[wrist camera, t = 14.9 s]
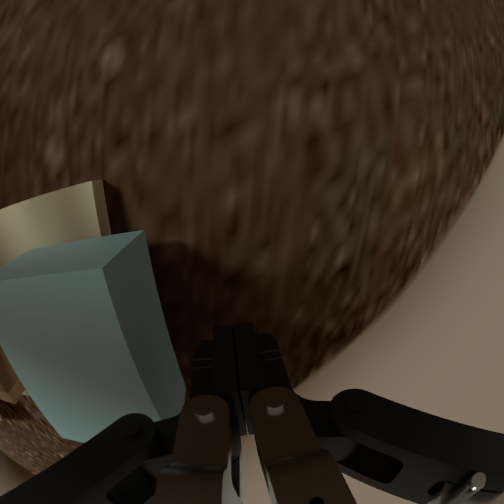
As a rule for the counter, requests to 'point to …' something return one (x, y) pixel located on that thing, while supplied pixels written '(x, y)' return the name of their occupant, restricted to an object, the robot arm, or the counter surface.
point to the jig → (48, 240)
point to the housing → (89, 334)
